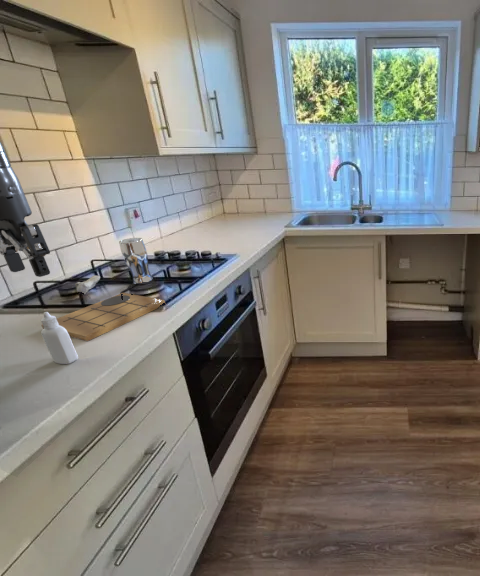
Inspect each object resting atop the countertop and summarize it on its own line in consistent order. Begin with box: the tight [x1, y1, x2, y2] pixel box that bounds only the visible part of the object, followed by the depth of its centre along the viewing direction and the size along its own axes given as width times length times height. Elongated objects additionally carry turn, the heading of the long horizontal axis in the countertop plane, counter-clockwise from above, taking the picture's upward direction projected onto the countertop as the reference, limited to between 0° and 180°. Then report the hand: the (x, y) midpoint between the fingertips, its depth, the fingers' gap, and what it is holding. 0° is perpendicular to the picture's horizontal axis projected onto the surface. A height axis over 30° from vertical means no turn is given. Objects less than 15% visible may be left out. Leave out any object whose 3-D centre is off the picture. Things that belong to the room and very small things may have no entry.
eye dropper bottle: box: [40, 311, 79, 365], centre depth 79 cm, size 4×6×12 cm
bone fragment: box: [74, 275, 101, 295], centre depth 120 cm, size 5×11×4 cm, turn 18°
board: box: [41, 292, 166, 342], centre depth 101 cm, size 22×18×2 cm
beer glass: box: [118, 237, 154, 285], centre depth 123 cm, size 7×7×15 cm
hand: (30, 273), depth 74 cm, fingers open, 8 cm apart
